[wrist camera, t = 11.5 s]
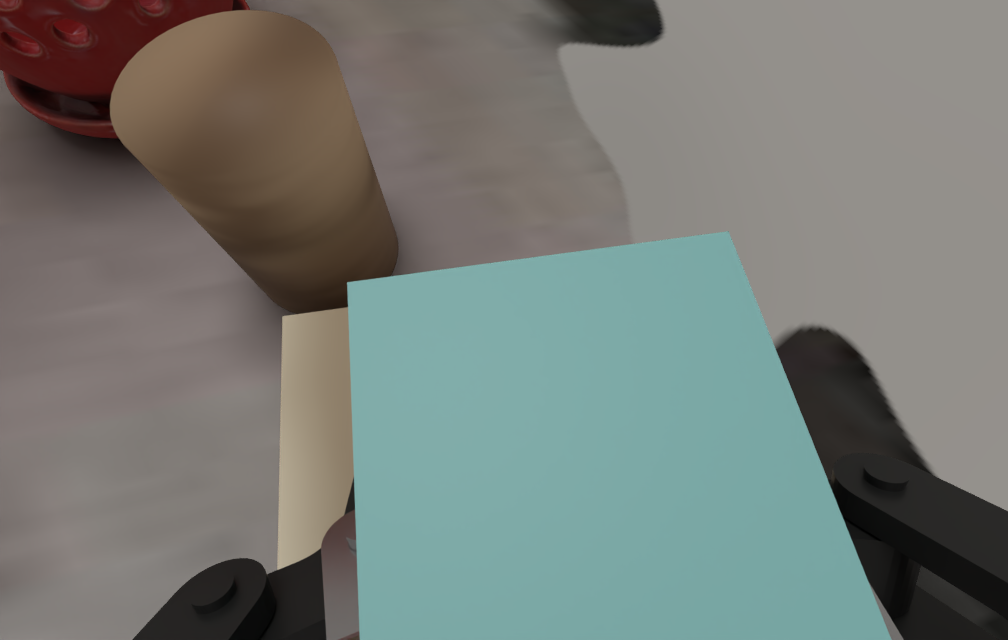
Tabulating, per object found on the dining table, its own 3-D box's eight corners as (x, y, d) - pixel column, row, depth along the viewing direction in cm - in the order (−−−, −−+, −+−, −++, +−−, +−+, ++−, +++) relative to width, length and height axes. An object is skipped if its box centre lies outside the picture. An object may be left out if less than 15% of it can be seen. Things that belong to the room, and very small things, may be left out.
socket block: (341, 777, 15) (271, 881, 10) (332, 366, 20) (282, 316, 16) (756, 694, 16) (859, 757, 11) (646, 321, 21) (687, 260, 16)
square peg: (470, 597, 15) (364, 789, 3) (455, 464, 17) (346, 283, 5) (598, 575, 16) (908, 681, 4) (571, 445, 17) (728, 231, 5)
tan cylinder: (230, 295, 21) (62, 142, 13) (294, 182, 24) (185, -7, 16) (366, 333, 21) (278, 197, 13) (417, 213, 23) (371, 33, 15)
